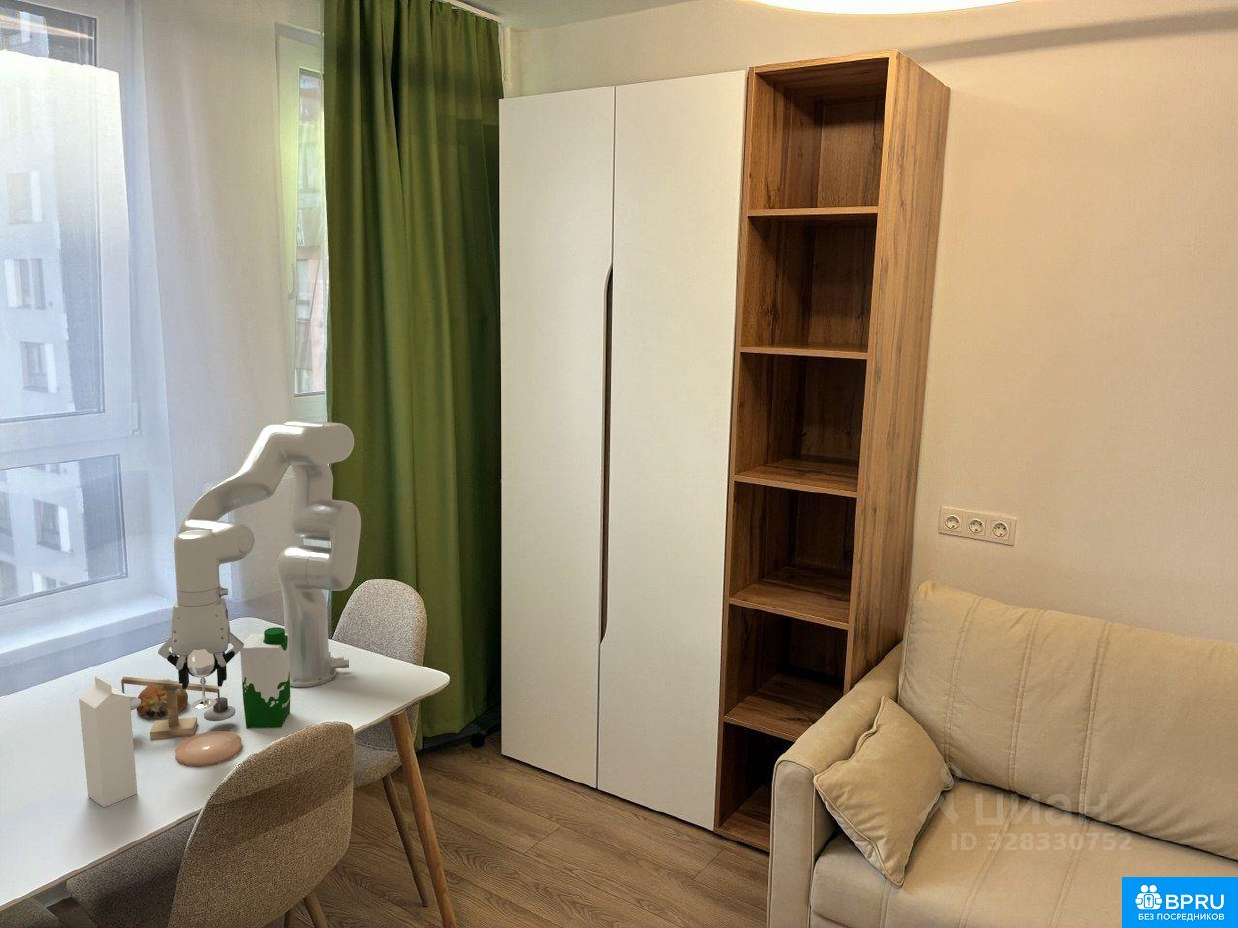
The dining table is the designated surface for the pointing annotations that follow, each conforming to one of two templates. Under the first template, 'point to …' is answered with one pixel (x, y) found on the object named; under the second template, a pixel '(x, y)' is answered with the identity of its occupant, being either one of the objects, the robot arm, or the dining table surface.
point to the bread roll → (159, 701)
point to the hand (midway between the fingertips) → (203, 684)
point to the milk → (108, 744)
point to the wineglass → (202, 673)
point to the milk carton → (266, 679)
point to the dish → (208, 748)
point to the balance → (174, 724)
